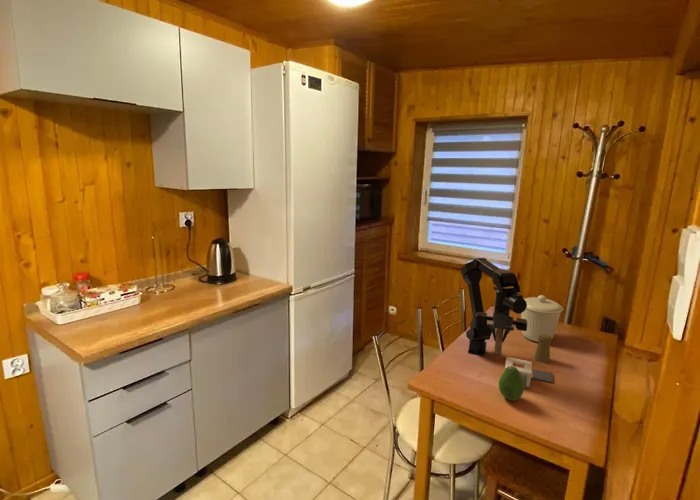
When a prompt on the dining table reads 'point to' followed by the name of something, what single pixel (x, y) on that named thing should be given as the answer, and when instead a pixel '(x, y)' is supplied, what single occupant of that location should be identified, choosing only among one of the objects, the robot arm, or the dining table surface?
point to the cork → (543, 349)
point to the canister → (540, 317)
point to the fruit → (511, 384)
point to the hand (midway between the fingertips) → (498, 341)
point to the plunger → (518, 366)
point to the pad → (542, 376)
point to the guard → (521, 369)
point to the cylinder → (498, 341)
